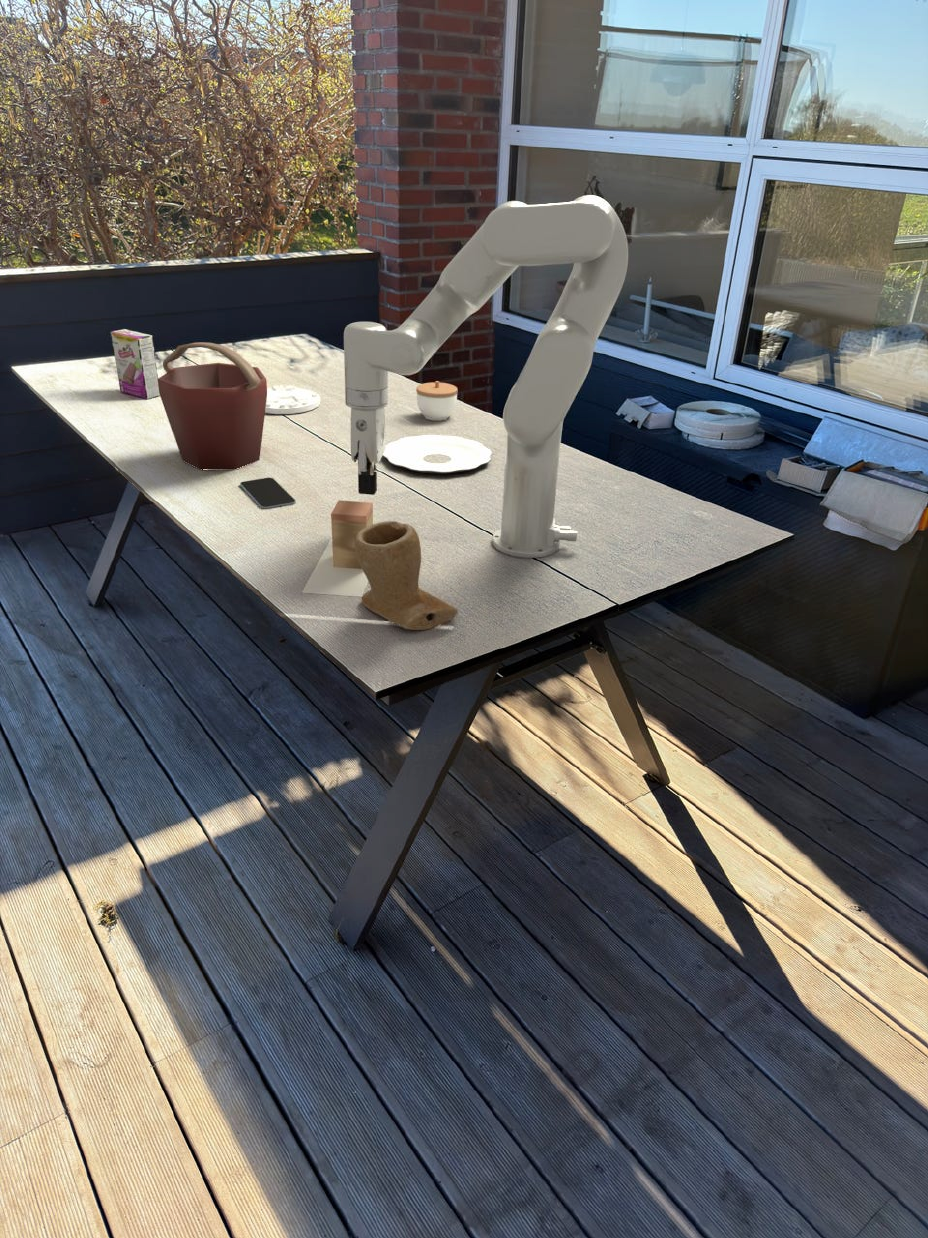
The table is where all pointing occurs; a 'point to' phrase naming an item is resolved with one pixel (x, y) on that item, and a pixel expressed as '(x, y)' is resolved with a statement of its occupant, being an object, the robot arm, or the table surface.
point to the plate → (457, 448)
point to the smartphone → (267, 493)
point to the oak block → (348, 530)
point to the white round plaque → (290, 400)
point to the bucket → (215, 409)
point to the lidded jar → (436, 400)
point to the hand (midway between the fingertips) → (367, 492)
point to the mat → (335, 578)
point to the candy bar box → (135, 363)
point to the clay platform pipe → (397, 577)
